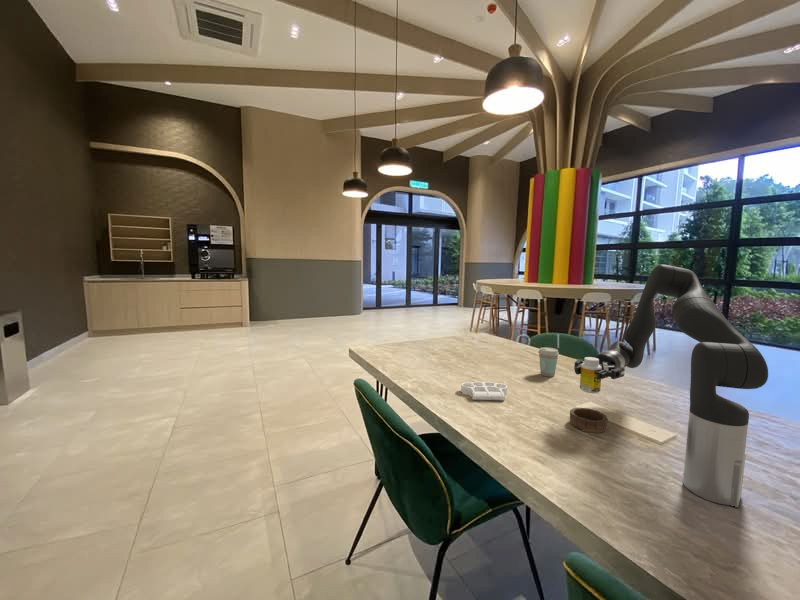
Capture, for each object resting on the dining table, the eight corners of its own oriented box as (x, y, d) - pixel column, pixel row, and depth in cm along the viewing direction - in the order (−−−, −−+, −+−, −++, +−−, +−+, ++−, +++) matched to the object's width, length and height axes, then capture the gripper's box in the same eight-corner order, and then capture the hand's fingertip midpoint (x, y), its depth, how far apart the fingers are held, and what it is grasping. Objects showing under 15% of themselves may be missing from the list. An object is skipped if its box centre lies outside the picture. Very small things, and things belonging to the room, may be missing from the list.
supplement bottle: (594, 395, 100) (596, 362, 99) (576, 389, 104) (577, 358, 103) (603, 391, 103) (605, 359, 102) (585, 386, 107) (587, 355, 106)
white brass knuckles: (464, 402, 123) (459, 387, 138) (513, 403, 122) (503, 388, 137) (464, 393, 123) (459, 379, 138) (513, 394, 122) (503, 380, 137)
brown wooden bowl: (611, 426, 104) (612, 415, 103) (598, 436, 97) (599, 425, 97) (577, 415, 111) (578, 405, 111) (564, 424, 105) (564, 413, 105)
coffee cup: (539, 370, 159) (540, 346, 158) (558, 373, 155) (560, 348, 153) (536, 375, 152) (537, 350, 150) (556, 379, 147) (558, 352, 146)
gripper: (586, 348, 117) (564, 356, 106) (634, 356, 106) (615, 367, 95) (585, 368, 118) (563, 379, 107) (632, 379, 107) (613, 392, 96)
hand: (587, 373), depth 101 cm, fingers closed on supplement bottle, 5 cm apart
